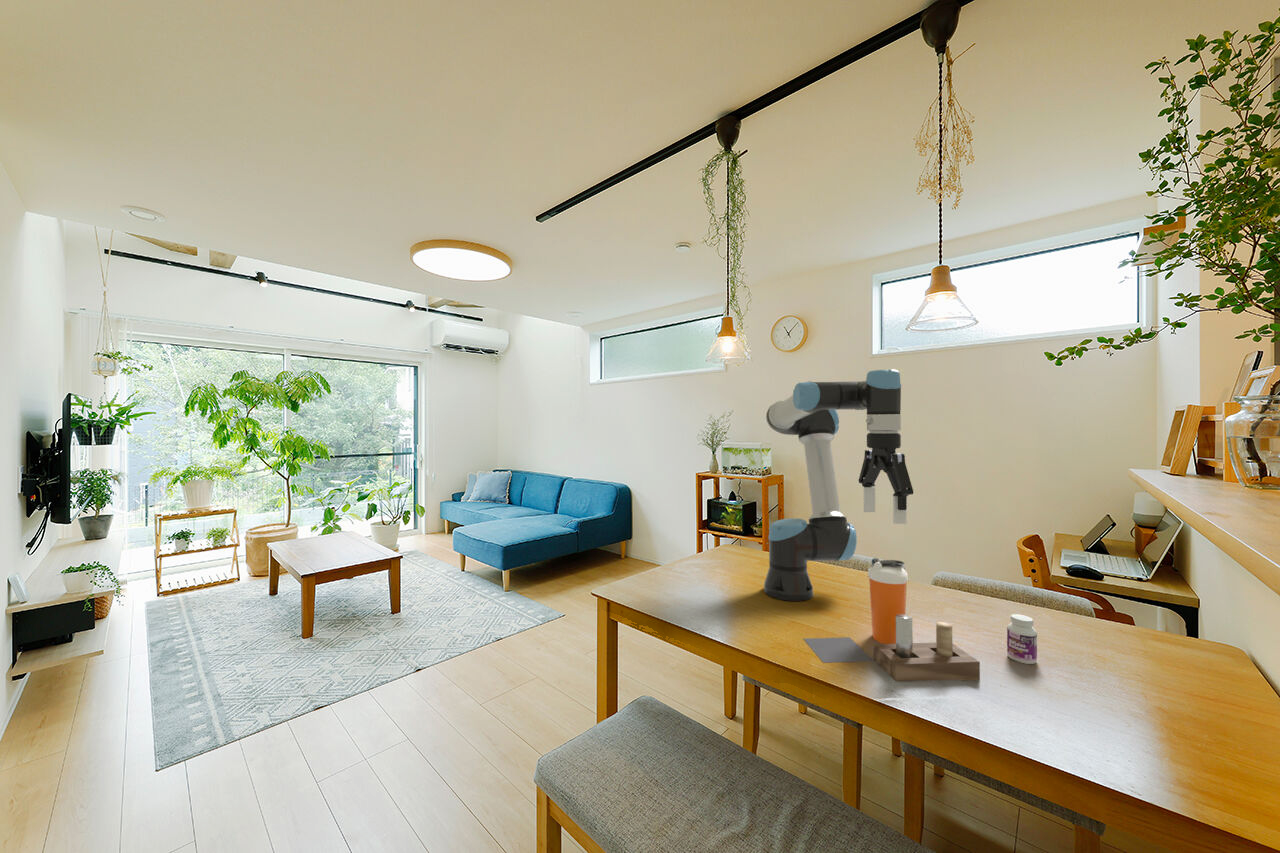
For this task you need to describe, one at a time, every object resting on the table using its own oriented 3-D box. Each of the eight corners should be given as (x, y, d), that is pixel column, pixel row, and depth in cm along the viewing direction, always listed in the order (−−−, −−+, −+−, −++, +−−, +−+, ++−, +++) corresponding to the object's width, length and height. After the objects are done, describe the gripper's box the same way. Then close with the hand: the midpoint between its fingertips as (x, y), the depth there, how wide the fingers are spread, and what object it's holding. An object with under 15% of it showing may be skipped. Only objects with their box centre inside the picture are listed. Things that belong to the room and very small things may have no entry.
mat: (803, 640, 119) (803, 638, 119) (849, 638, 119) (849, 637, 119) (823, 664, 107) (823, 662, 107) (875, 662, 107) (874, 661, 107)
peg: (893, 667, 105) (892, 614, 105) (907, 667, 105) (906, 613, 105) (901, 675, 102) (901, 620, 102) (916, 675, 102) (915, 619, 102)
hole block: (873, 661, 108) (873, 644, 108) (950, 659, 108) (950, 642, 108) (896, 683, 99) (896, 664, 99) (979, 680, 99) (979, 661, 99)
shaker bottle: (914, 650, 113) (913, 567, 113) (874, 647, 115) (873, 565, 115) (901, 633, 122) (900, 556, 122) (864, 631, 124) (863, 555, 123)
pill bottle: (1006, 659, 108) (1006, 617, 108) (1007, 651, 112) (1007, 610, 112) (1037, 667, 104) (1036, 624, 104) (1037, 658, 108) (1037, 616, 108)
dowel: (933, 666, 105) (933, 622, 105) (946, 666, 105) (946, 622, 105) (942, 674, 102) (942, 628, 102) (956, 673, 102) (955, 627, 102)
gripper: (845, 431, 129) (845, 508, 129) (897, 434, 104) (898, 529, 105) (871, 430, 129) (872, 507, 130) (931, 433, 104) (931, 528, 105)
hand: (883, 517), depth 117 cm, fingers open, 13 cm apart
